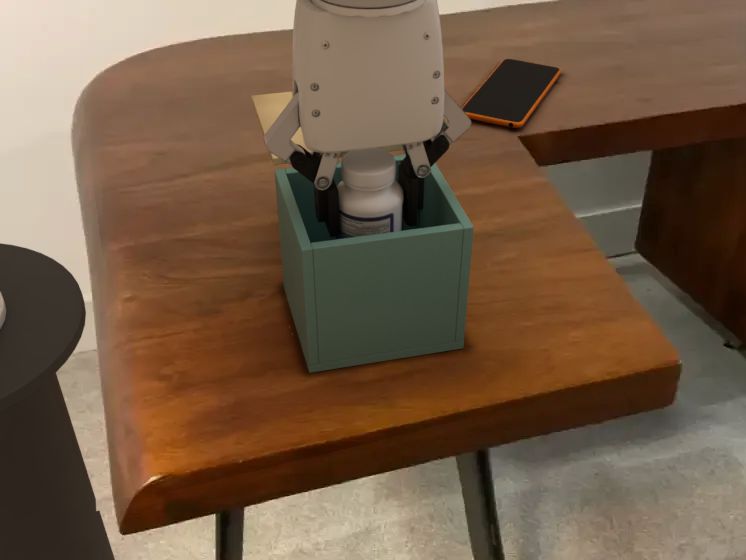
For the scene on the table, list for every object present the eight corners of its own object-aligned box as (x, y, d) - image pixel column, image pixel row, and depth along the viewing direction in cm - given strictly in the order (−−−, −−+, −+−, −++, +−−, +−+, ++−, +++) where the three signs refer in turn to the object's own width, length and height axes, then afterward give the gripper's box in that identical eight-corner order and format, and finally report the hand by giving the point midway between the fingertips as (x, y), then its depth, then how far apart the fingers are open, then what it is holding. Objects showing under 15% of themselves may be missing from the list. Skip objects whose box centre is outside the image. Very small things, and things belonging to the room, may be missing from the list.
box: (309, 373, 71) (301, 250, 63) (283, 287, 79) (274, 169, 72) (463, 348, 73) (474, 227, 66) (423, 267, 82) (428, 151, 74)
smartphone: (562, 73, 112) (563, 66, 111) (520, 131, 100) (521, 124, 100) (503, 62, 114) (503, 55, 113) (456, 118, 103) (456, 110, 102)
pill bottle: (356, 237, 75) (354, 136, 69) (413, 254, 74) (417, 152, 67) (323, 270, 72) (319, 167, 66) (383, 288, 70) (384, 185, 64)
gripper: (478, -56, 62) (460, 184, 74) (225, -37, 59) (250, 211, 71) (517, -18, 57) (491, 234, 69) (241, 5, 53) (266, 264, 66)
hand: (369, 220), depth 70 cm, fingers closed on pill bottle, 5 cm apart
